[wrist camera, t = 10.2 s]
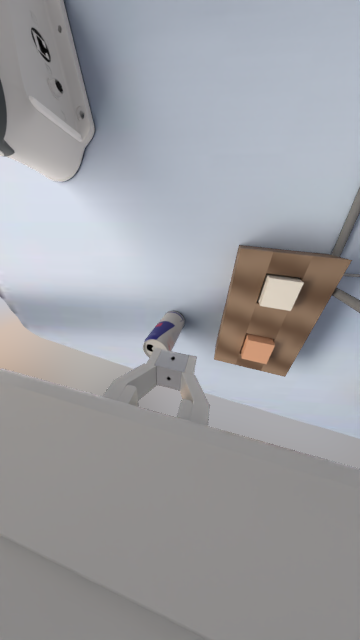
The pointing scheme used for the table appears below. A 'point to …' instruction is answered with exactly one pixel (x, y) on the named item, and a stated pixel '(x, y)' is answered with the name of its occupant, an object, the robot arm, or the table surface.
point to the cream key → (279, 291)
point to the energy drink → (164, 333)
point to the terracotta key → (257, 348)
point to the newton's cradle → (357, 207)
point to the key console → (270, 322)
